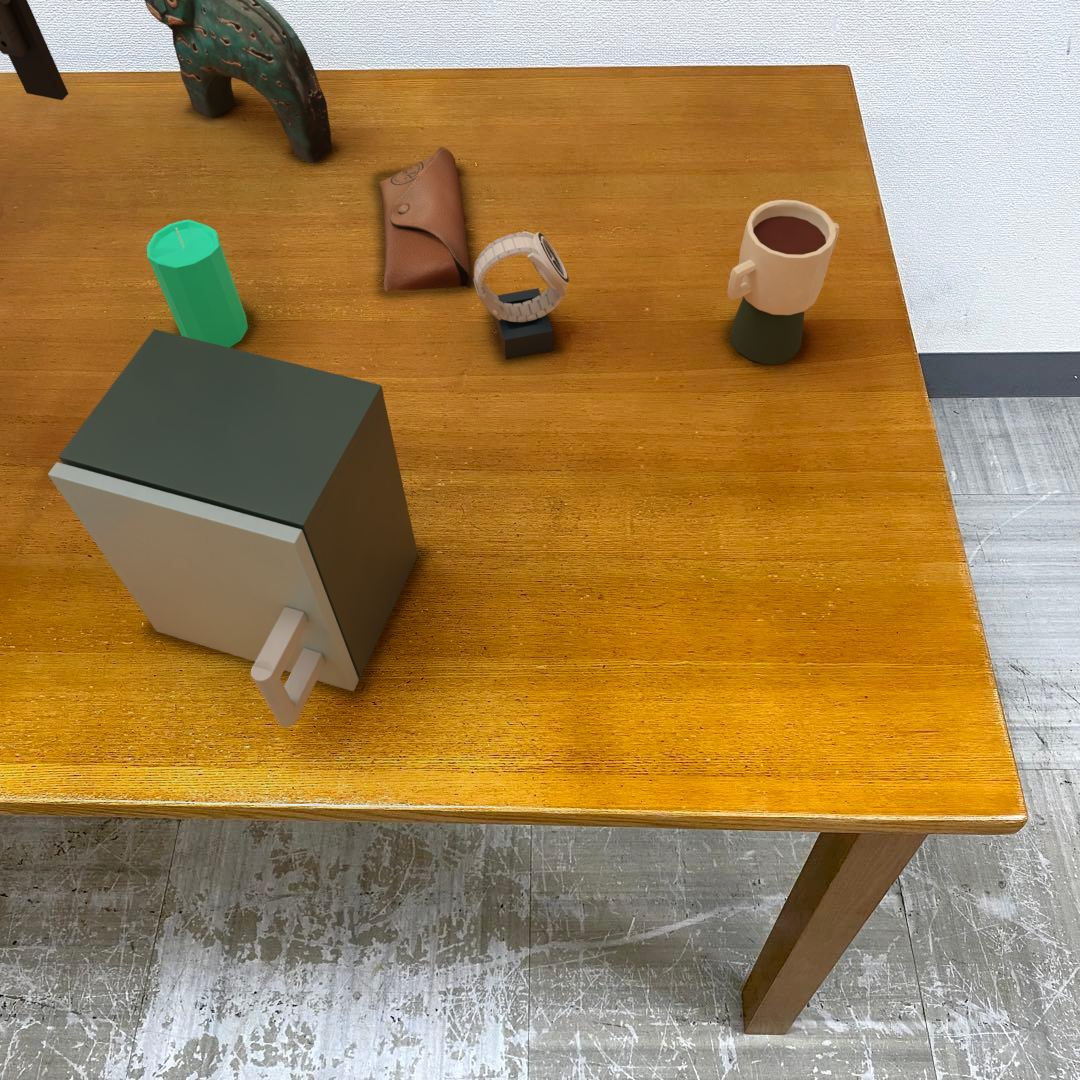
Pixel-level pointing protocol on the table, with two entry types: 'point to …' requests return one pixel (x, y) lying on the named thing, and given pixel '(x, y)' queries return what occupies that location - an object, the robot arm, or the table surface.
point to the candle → (197, 283)
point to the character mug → (779, 277)
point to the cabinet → (267, 461)
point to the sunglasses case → (425, 226)
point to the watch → (523, 294)
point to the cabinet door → (218, 582)
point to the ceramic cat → (248, 64)
